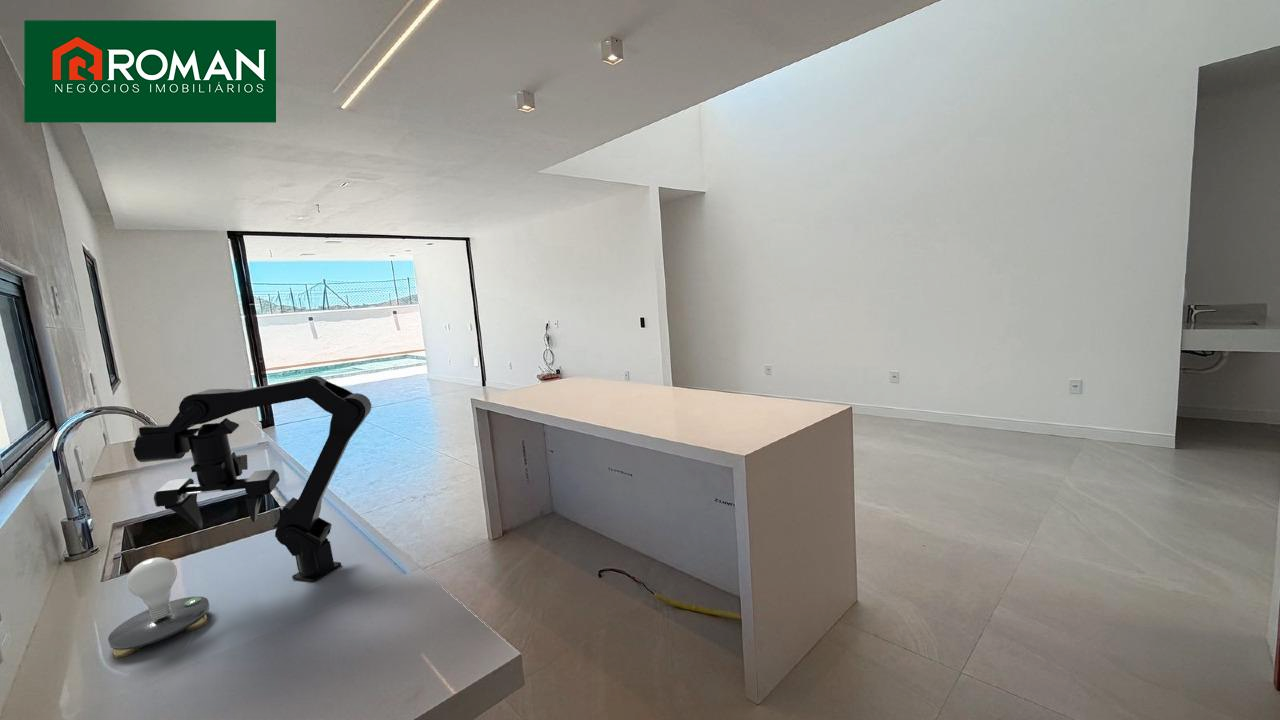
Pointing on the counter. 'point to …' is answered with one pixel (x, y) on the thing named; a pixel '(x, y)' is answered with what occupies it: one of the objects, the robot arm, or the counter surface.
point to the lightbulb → (153, 585)
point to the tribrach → (158, 625)
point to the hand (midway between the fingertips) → (228, 524)
